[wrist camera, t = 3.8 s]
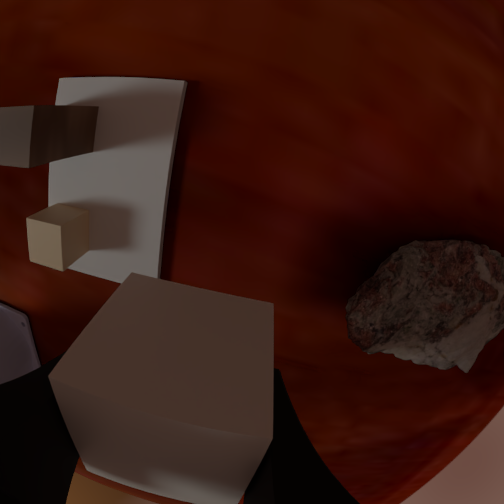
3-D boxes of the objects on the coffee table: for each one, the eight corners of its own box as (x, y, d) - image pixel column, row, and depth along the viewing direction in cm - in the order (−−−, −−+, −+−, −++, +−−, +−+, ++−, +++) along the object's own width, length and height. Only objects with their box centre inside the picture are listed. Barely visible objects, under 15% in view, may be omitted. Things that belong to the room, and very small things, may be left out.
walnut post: (93, 152, 15) (28, 168, 10) (58, 148, 15) (-7, 164, 10) (99, 106, 14) (34, 105, 9) (63, 105, 14) (-3, 107, 9)
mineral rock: (524, 267, 17) (557, 294, 13) (474, 350, 20) (497, 385, 16) (378, 186, 16) (410, 206, 12) (321, 307, 19) (332, 353, 15)
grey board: (159, 287, 19) (138, 320, 15) (56, 259, 18) (25, 283, 15) (187, 82, 14) (165, 71, 11) (65, 79, 14) (27, 75, 11)
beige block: (245, 398, 13) (233, 509, 8) (133, 371, 13) (87, 470, 8) (273, 303, 11) (273, 438, 6) (131, 272, 11) (48, 376, 6)
